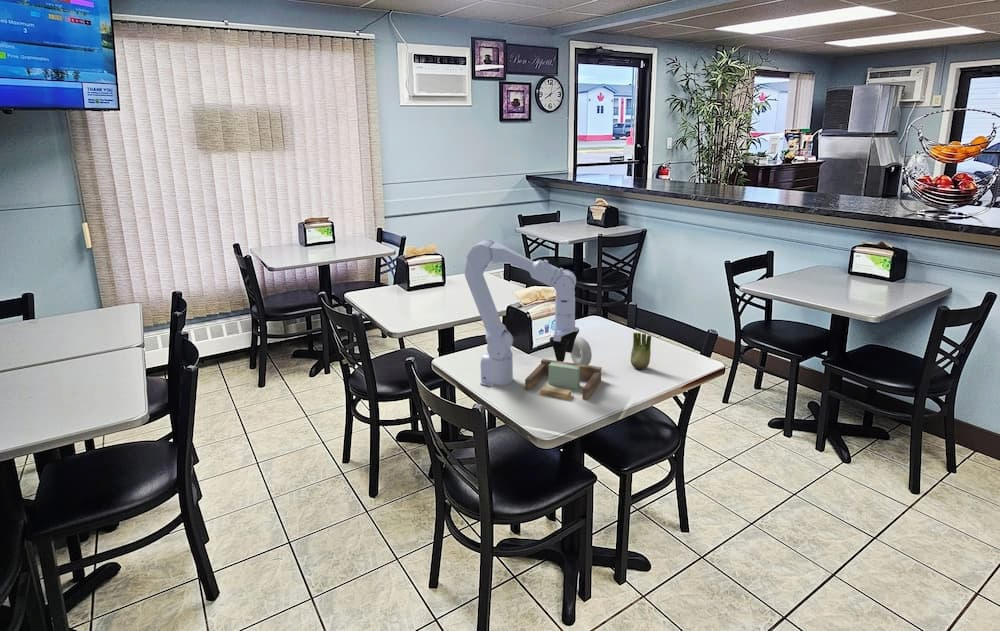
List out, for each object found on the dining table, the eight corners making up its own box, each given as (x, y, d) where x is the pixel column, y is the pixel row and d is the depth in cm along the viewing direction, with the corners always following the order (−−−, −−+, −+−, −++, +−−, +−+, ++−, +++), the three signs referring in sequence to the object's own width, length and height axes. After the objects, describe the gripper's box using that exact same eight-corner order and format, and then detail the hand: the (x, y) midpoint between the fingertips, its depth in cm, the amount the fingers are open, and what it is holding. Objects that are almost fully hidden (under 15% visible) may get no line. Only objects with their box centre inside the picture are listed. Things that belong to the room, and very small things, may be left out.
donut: (593, 371, 189) (594, 341, 186) (584, 373, 188) (585, 343, 185) (576, 360, 198) (577, 332, 195) (567, 362, 197) (568, 334, 194)
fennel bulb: (651, 369, 190) (653, 334, 186) (639, 372, 188) (641, 337, 184) (639, 363, 195) (640, 329, 191) (627, 366, 192) (629, 331, 189)
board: (548, 386, 179) (548, 365, 177) (551, 383, 181) (551, 362, 179) (577, 391, 176) (577, 369, 173) (579, 387, 178) (580, 366, 176)
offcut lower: (537, 398, 172) (537, 394, 172) (540, 394, 175) (540, 390, 174) (570, 404, 168) (570, 399, 168) (573, 400, 171) (573, 395, 171)
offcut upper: (540, 393, 172) (540, 389, 171) (544, 390, 174) (544, 385, 174) (567, 399, 168) (567, 394, 168) (571, 395, 171) (571, 390, 170)
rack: (525, 391, 176) (525, 376, 174) (542, 373, 188) (542, 358, 187) (587, 402, 168) (588, 386, 167) (601, 382, 181) (601, 367, 179)
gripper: (570, 321, 163) (569, 367, 168) (585, 307, 176) (584, 350, 180) (546, 318, 166) (546, 363, 170) (562, 305, 179) (562, 347, 183)
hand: (564, 356), depth 175 cm, fingers open, 7 cm apart
